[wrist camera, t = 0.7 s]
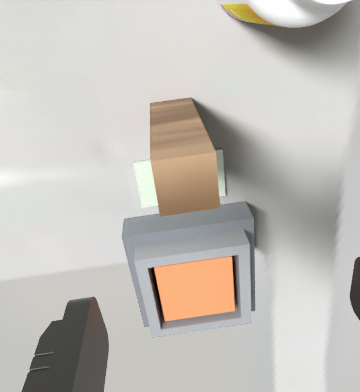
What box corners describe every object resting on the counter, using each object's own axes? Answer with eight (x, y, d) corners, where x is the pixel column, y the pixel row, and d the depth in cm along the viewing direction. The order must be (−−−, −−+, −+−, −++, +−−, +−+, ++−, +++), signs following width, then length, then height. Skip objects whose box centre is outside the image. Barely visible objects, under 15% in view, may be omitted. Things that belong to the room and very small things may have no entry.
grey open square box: (123, 219, 33) (119, 253, 28) (245, 201, 33) (261, 233, 29) (144, 305, 39) (144, 345, 34) (248, 290, 39) (261, 328, 35)
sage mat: (133, 161, 30) (133, 163, 30) (222, 149, 30) (222, 150, 30) (142, 205, 33) (142, 207, 32) (224, 193, 33) (225, 195, 32)
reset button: (153, 247, 33) (154, 267, 30) (225, 236, 33) (232, 256, 30) (163, 298, 36) (165, 321, 34) (228, 289, 36) (234, 311, 34)
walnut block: (149, 103, 28) (150, 161, 17) (191, 97, 28) (215, 152, 17) (156, 142, 30) (160, 216, 19) (194, 136, 30) (220, 208, 19)
